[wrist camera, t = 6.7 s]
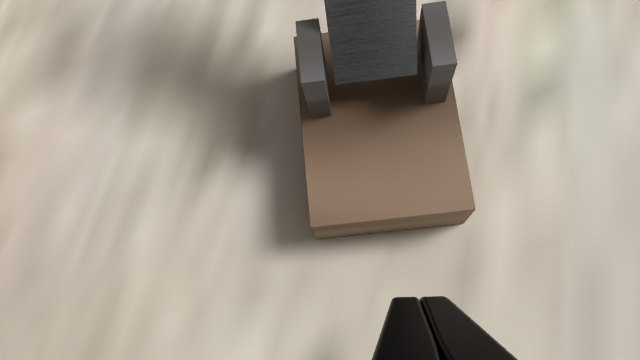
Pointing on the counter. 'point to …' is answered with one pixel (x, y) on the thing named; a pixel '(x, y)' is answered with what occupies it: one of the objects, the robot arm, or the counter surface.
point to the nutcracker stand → (383, 138)
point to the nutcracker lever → (372, 39)
